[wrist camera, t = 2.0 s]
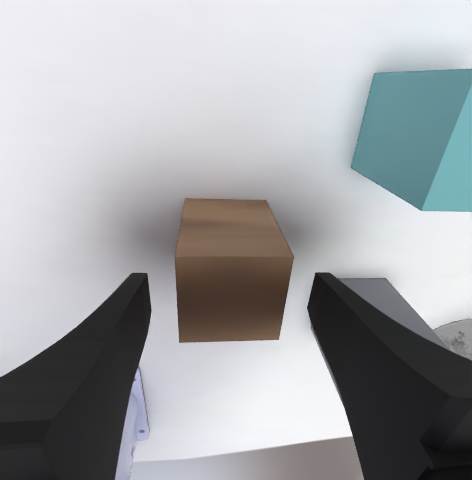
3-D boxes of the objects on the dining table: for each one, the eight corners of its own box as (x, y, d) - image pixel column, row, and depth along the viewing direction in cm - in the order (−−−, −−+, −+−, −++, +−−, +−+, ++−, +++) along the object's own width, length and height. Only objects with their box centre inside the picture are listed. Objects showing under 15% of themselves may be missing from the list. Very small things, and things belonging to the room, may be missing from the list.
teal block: (426, 170, 16) (529, 212, 11) (350, 167, 16) (421, 210, 11) (460, 79, 14) (609, 78, 9) (373, 72, 14) (478, 68, 8)
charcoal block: (367, 325, 22) (417, 402, 17) (310, 327, 22) (343, 406, 16) (385, 278, 20) (449, 348, 15) (322, 278, 19) (365, 351, 14)
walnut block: (258, 266, 18) (278, 339, 13) (187, 266, 18) (179, 342, 13) (265, 200, 16) (294, 256, 11) (185, 198, 16) (174, 256, 11)
